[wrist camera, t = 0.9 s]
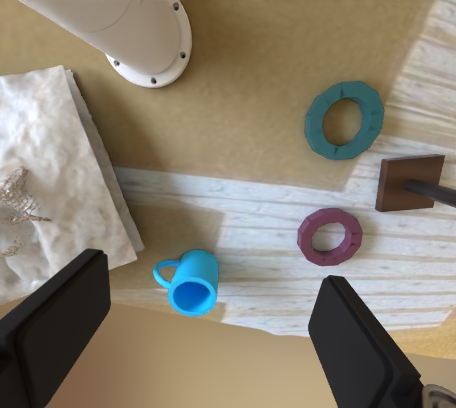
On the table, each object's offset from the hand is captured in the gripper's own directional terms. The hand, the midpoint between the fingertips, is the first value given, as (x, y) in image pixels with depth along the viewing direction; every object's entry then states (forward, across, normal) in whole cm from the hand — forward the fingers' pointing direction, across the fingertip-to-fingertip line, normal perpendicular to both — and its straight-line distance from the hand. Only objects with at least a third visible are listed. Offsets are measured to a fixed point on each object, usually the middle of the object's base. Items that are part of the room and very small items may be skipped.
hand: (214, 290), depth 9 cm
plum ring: (+29, -21, +10) cm, 37 cm away
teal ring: (+29, -17, -10) cm, 35 cm away
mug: (+29, +5, +20) cm, 36 cm away
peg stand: (+29, -31, -2) cm, 43 cm away
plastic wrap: (+29, +34, +8) cm, 46 cm away
